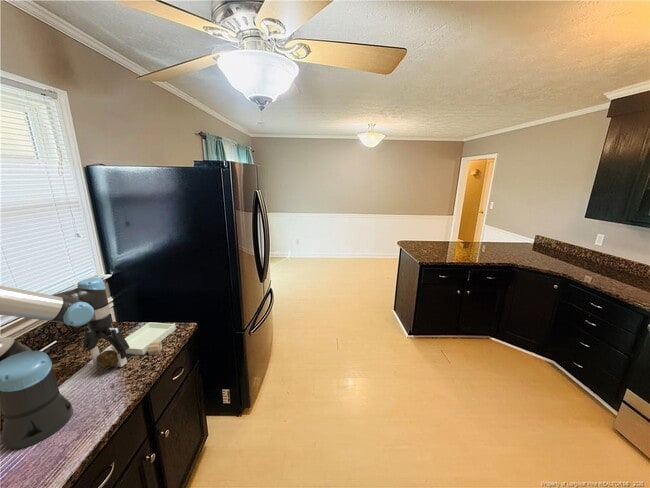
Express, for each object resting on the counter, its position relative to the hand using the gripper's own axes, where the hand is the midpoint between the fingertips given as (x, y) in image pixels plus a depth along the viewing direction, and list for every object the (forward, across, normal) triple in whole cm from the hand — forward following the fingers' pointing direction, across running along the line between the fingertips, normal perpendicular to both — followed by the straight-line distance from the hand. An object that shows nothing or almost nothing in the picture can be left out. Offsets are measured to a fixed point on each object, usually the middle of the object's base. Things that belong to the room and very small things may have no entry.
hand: (110, 363), depth 109 cm
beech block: (+1, -12, -10) cm, 16 cm away
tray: (+1, -1, -18) cm, 18 cm away
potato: (+1, 0, 0) cm, 1 cm away
